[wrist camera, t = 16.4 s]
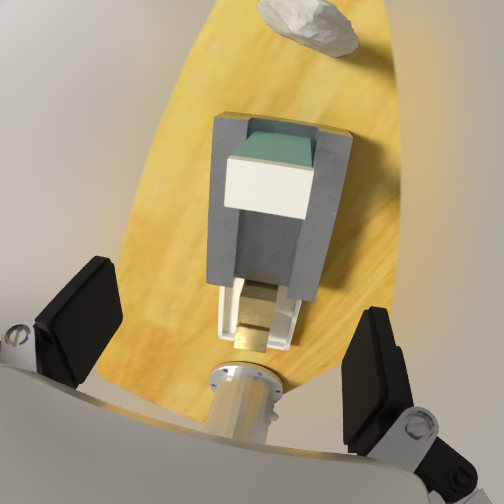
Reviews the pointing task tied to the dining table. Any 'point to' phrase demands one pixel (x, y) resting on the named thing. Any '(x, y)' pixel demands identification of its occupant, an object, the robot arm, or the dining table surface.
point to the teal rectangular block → (270, 175)
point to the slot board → (270, 225)
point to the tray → (281, 321)
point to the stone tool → (311, 24)
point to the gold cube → (257, 303)
